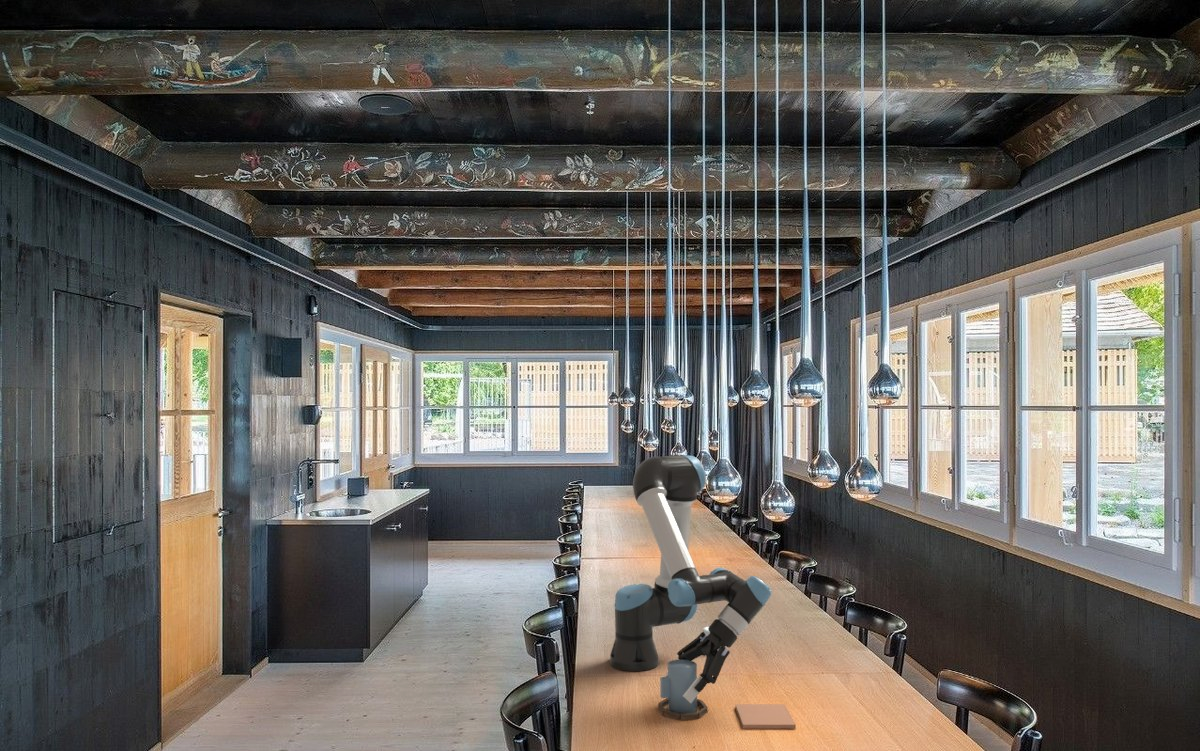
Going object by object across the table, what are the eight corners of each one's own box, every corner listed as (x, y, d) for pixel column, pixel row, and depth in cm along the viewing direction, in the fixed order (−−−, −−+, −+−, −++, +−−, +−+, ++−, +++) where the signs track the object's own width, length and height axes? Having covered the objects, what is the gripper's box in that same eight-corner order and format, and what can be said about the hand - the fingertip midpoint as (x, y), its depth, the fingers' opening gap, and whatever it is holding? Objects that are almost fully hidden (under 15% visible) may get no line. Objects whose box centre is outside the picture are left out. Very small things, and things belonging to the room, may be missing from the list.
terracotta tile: (735, 707, 207) (735, 704, 207) (784, 707, 207) (784, 704, 207) (743, 728, 194) (743, 724, 194) (795, 728, 194) (795, 724, 194)
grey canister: (690, 703, 211) (689, 658, 211) (701, 713, 203) (701, 667, 204) (656, 707, 208) (655, 662, 208) (666, 718, 200) (666, 671, 201)
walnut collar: (673, 697, 214) (673, 693, 214) (713, 707, 207) (713, 702, 207) (651, 712, 204) (651, 708, 204) (692, 723, 197) (692, 718, 197)
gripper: (758, 650, 199) (705, 717, 194) (716, 623, 223) (668, 682, 218) (739, 631, 197) (685, 698, 193) (699, 606, 221) (650, 665, 217)
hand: (676, 690), depth 205 cm, fingers open, 13 cm apart
